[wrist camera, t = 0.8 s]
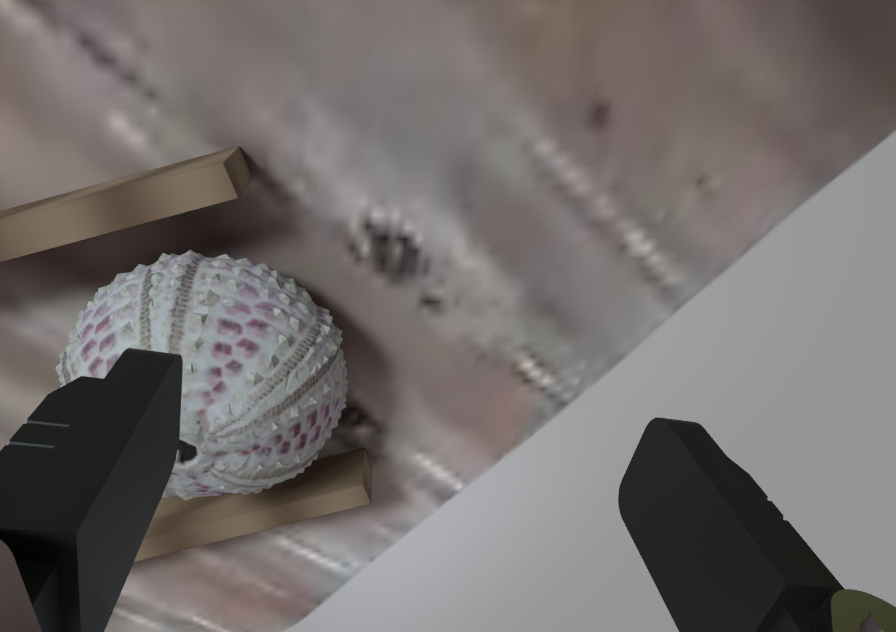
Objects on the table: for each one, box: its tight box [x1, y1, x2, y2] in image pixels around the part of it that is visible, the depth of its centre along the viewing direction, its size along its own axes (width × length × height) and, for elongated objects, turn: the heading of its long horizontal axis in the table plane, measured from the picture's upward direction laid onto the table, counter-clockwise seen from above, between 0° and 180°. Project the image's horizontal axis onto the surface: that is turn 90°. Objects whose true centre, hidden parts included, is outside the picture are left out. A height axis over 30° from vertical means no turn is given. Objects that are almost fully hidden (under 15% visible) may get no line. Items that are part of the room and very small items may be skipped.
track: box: [0, 146, 372, 562], centre depth 29 cm, size 25×20×6 cm
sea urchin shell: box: [55, 250, 348, 500], centre depth 28 cm, size 13×14×8 cm
